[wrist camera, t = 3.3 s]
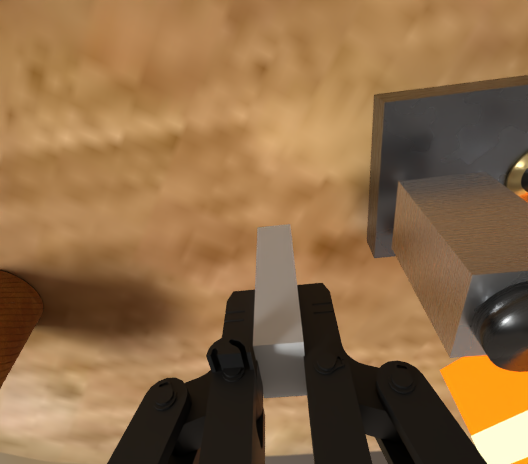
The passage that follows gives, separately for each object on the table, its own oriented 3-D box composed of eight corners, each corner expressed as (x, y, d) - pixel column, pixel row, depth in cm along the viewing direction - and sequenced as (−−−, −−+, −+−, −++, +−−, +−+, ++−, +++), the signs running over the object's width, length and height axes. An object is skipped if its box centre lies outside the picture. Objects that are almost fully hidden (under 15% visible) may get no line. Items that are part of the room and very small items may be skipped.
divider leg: (460, 154, 18) (643, 286, 9) (447, 218, 20) (586, 375, 11) (383, 162, 18) (490, 298, 9) (379, 224, 20) (462, 382, 12)
